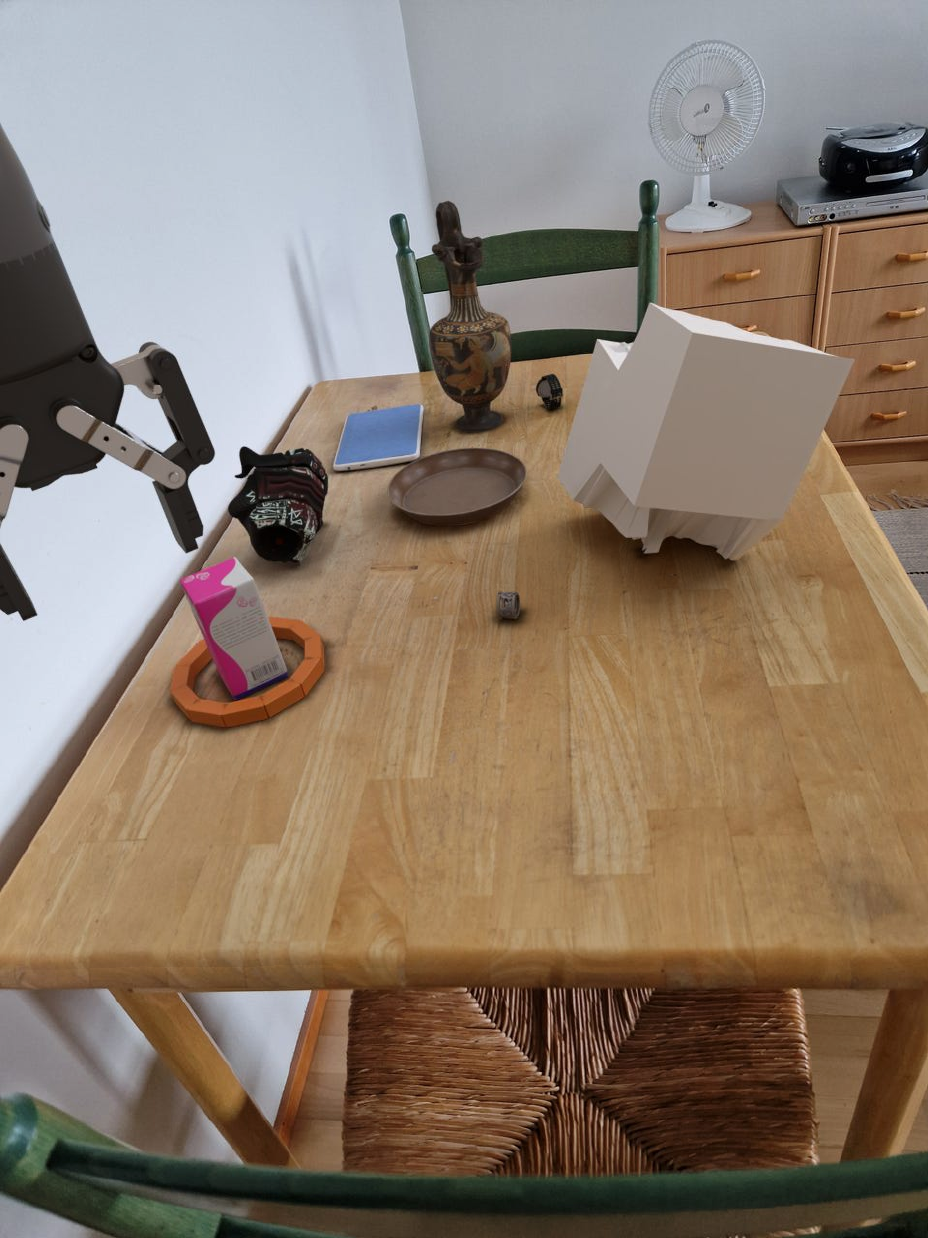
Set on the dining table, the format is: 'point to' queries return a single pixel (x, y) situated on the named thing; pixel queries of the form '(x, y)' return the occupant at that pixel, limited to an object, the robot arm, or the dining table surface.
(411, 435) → the tablet
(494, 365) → the vase
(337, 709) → the dining table surface
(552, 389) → the smartwatch
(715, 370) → the notched white block
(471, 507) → the plant saucer
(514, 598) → the decorative ring
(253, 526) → the black patterned hollow part
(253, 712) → the ring
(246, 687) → the supplement box
